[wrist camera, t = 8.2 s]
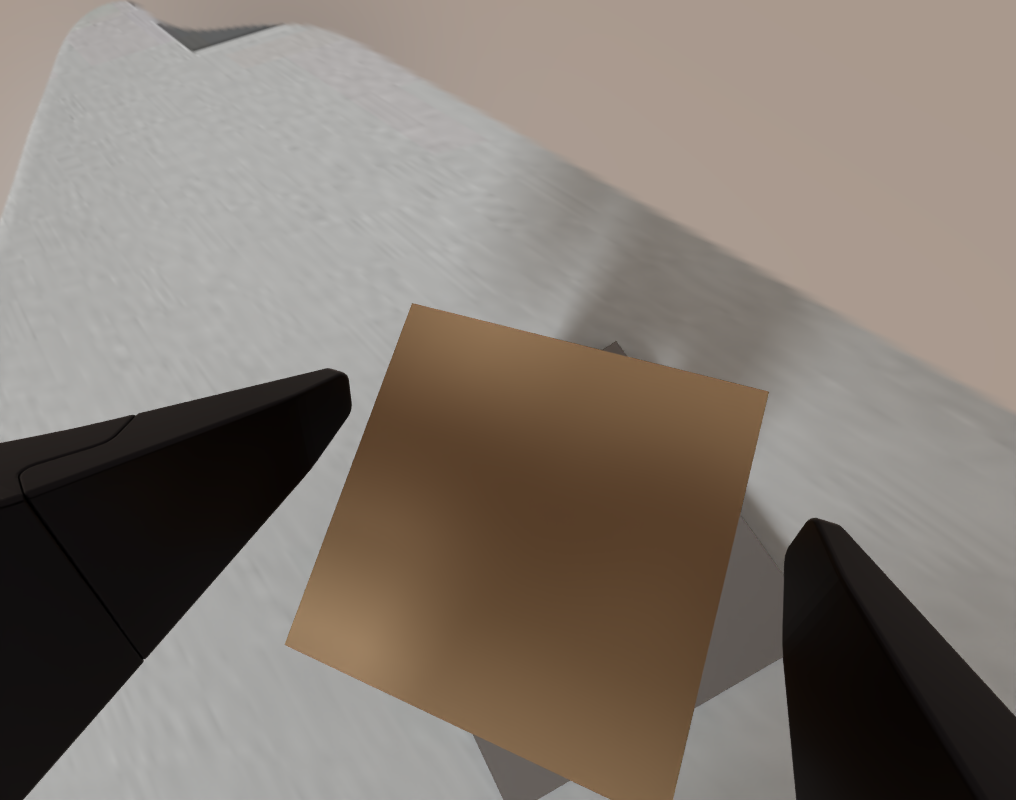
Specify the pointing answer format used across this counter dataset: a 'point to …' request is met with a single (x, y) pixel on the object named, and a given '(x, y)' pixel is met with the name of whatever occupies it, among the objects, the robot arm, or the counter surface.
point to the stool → (537, 546)
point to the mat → (730, 658)
